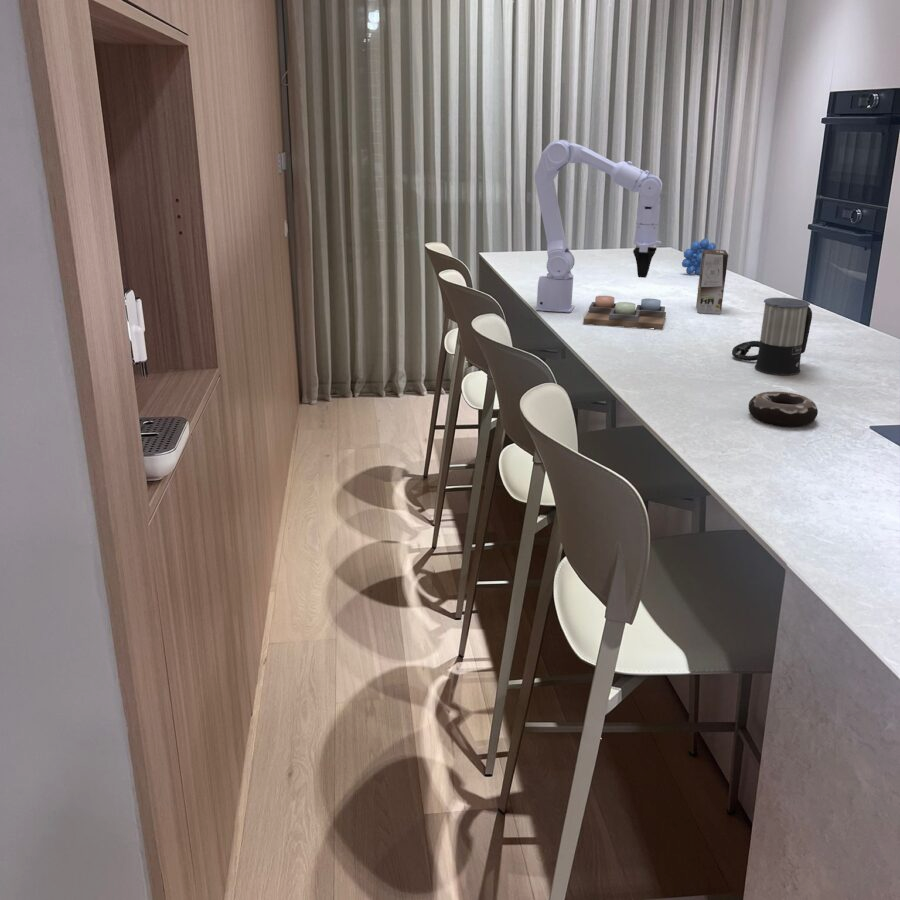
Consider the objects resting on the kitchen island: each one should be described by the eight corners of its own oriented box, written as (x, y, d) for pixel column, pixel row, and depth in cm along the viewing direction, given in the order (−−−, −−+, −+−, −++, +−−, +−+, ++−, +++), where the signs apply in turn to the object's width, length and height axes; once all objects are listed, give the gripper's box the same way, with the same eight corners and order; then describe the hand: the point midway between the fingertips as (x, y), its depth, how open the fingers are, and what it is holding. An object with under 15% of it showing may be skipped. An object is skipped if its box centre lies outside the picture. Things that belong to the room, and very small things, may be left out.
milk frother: (794, 378, 185) (805, 307, 179) (718, 367, 193) (727, 298, 187) (808, 363, 196) (819, 296, 191) (736, 353, 204) (745, 288, 199)
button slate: (639, 310, 232) (640, 301, 232) (641, 306, 237) (642, 297, 236) (659, 312, 231) (660, 302, 230) (660, 308, 236) (661, 299, 235)
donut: (799, 409, 166) (803, 388, 165) (826, 430, 156) (830, 408, 154) (738, 409, 166) (741, 388, 165) (760, 430, 155) (764, 408, 154)
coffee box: (721, 314, 242) (729, 254, 236) (697, 313, 243) (704, 253, 237) (719, 307, 250) (726, 249, 245) (695, 306, 252) (702, 248, 246)
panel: (583, 324, 229) (584, 312, 228) (590, 312, 243) (591, 301, 242) (662, 329, 224) (663, 318, 223) (665, 317, 238) (666, 306, 237)
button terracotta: (593, 307, 235) (594, 298, 235) (595, 303, 240) (596, 295, 239) (612, 308, 234) (613, 299, 233) (614, 305, 239) (615, 296, 238)
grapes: (709, 272, 305) (714, 236, 300) (717, 276, 298) (721, 239, 294) (676, 272, 304) (680, 236, 299) (683, 276, 297) (686, 239, 293)
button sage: (614, 314, 228) (614, 305, 227) (615, 310, 232) (616, 301, 231) (633, 316, 226) (634, 306, 226) (635, 312, 231) (636, 302, 230)
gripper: (661, 227, 224) (656, 281, 229) (664, 221, 237) (659, 272, 242) (633, 226, 226) (628, 280, 231) (637, 220, 239) (633, 271, 244)
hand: (642, 276), depth 237 cm, fingers open, 3 cm apart
